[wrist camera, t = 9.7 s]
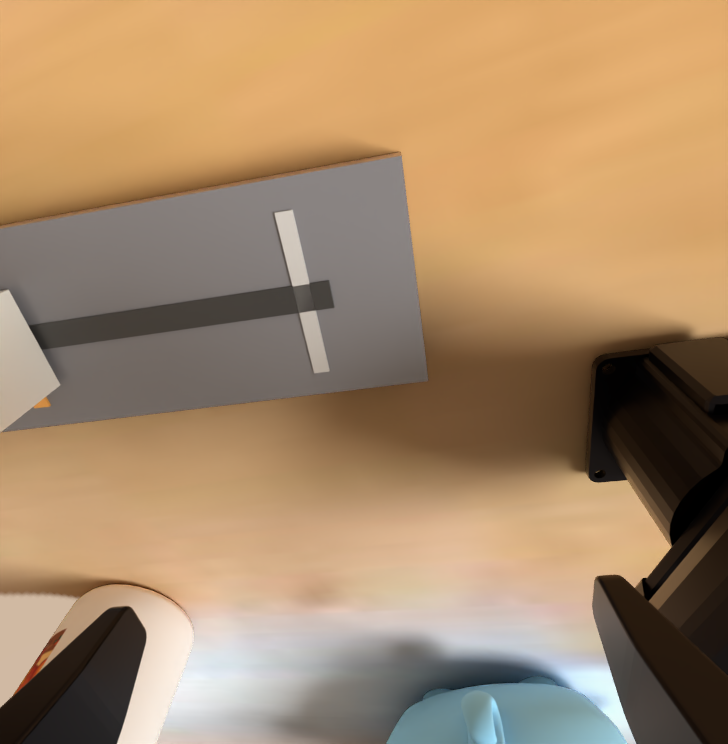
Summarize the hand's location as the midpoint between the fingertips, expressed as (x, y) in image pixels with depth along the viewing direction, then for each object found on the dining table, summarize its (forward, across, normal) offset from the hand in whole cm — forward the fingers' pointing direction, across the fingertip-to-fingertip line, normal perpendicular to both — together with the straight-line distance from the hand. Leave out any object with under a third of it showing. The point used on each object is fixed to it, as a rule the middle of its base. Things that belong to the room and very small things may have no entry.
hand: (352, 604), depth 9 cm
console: (+12, +10, -3) cm, 16 cm away
